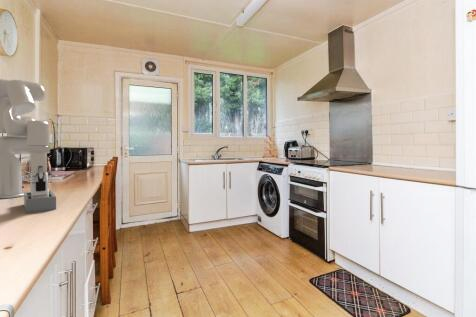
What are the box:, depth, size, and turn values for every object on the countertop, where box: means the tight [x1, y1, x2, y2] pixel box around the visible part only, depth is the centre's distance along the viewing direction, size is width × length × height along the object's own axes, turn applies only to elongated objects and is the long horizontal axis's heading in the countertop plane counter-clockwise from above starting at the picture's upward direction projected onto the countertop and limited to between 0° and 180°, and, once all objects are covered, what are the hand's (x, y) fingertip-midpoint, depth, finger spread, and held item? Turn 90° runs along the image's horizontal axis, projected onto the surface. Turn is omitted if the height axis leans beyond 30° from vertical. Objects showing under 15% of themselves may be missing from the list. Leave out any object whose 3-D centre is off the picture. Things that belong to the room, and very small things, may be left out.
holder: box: [23, 189, 57, 214], centre depth 111 cm, size 19×10×6 cm, turn 42°
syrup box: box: [29, 171, 49, 199], centre depth 108 cm, size 6×6×14 cm
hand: (39, 189), depth 108 cm, fingers open, 9 cm apart
